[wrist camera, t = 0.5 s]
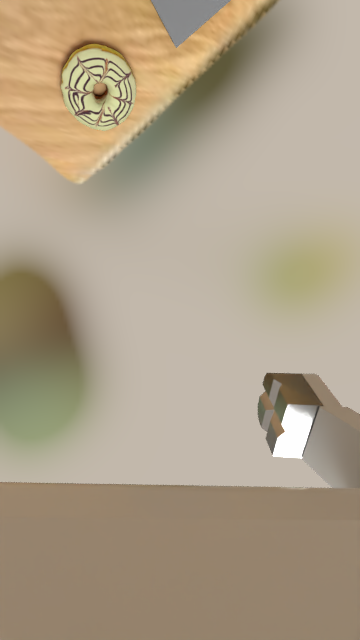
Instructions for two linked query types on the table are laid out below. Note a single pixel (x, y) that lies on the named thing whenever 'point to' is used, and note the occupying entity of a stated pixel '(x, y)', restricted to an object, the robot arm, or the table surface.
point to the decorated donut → (98, 68)
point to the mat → (186, 15)
